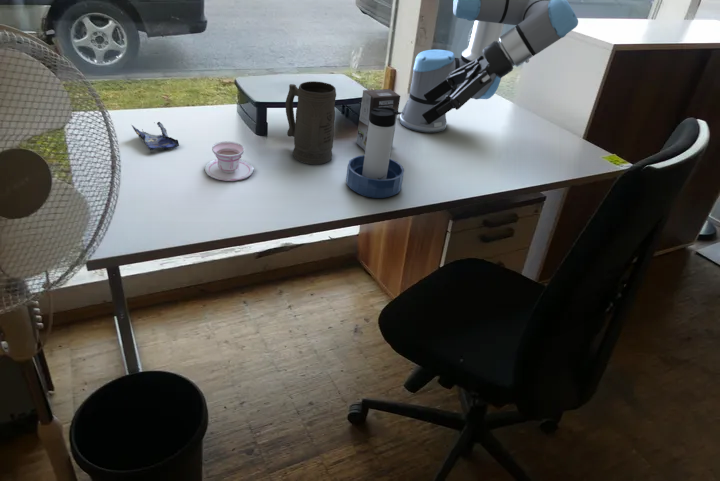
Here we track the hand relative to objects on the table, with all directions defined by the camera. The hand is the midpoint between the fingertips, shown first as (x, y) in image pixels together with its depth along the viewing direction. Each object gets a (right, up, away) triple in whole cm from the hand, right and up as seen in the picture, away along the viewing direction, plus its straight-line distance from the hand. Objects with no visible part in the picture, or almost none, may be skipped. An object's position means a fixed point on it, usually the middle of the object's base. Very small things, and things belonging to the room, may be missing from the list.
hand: (425, 109), depth 133 cm
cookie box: (-11, -3, +34) cm, 36 cm away
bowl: (-12, -17, +12) cm, 24 cm away
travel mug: (-12, -16, +12) cm, 24 cm away
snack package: (-70, -5, +18) cm, 73 cm away
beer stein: (-31, -7, +24) cm, 40 cm away
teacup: (-49, -13, +11) cm, 52 cm away
